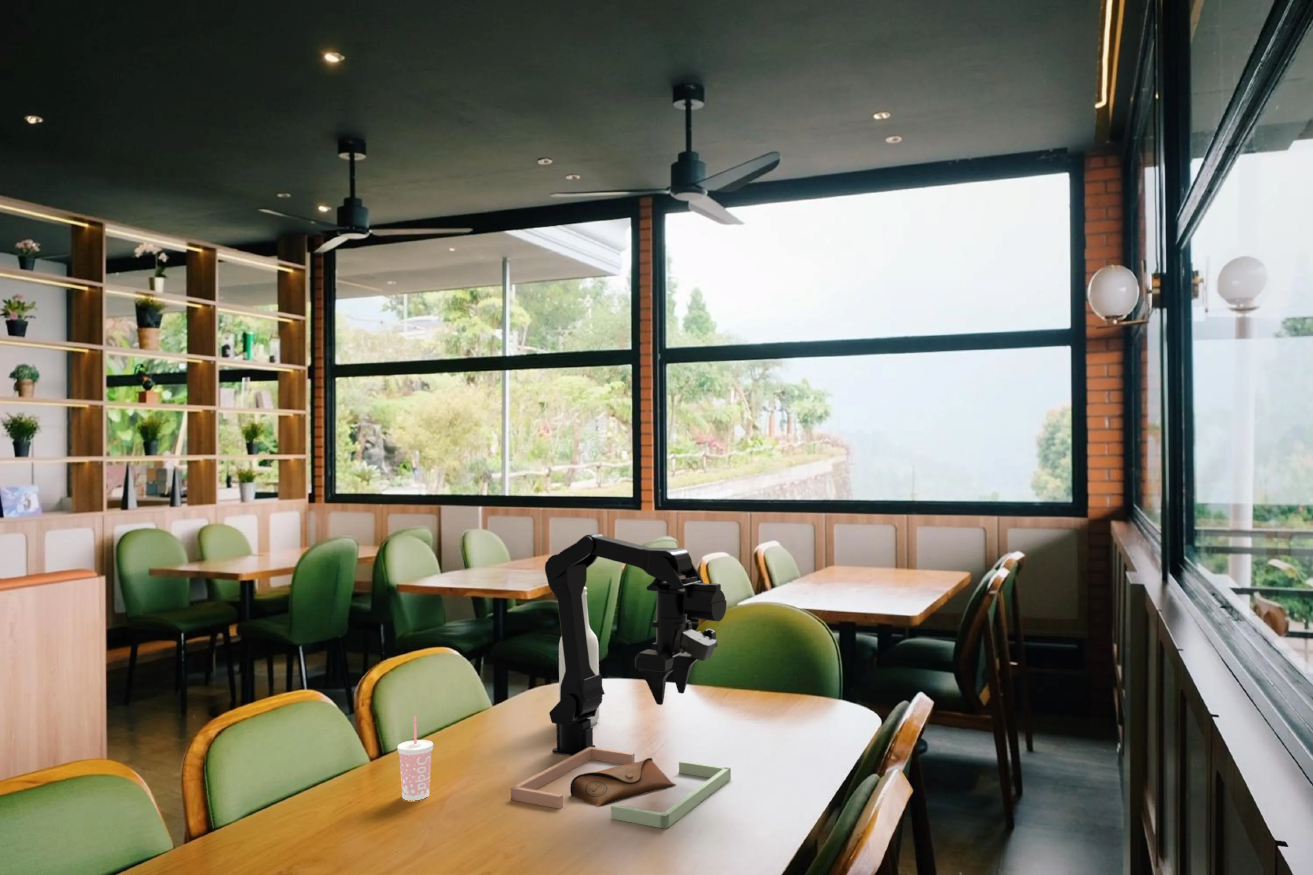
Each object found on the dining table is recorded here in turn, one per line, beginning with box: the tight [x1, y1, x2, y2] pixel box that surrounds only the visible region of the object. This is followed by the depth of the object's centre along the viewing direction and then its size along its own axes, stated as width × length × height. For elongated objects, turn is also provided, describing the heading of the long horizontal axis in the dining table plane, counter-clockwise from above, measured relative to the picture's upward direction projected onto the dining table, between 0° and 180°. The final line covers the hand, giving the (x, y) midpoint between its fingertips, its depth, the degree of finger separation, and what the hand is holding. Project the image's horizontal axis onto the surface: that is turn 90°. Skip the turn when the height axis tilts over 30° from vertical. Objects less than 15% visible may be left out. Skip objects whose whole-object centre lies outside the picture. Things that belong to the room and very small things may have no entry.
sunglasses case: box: [569, 757, 677, 808], centre depth 169 cm, size 18×7×7 cm
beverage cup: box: [397, 715, 434, 802], centre depth 167 cm, size 6×6×14 cm
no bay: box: [510, 746, 636, 810], centre depth 174 cm, size 10×26×2 cm, turn 153°
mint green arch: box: [610, 760, 732, 830], centre depth 164 cm, size 10×26×2 cm, turn 152°
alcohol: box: [558, 586, 600, 727], centre depth 213 cm, size 9×9×30 cm
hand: (670, 698), depth 180 cm, fingers open, 9 cm apart
